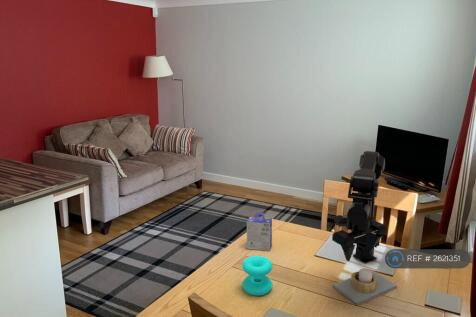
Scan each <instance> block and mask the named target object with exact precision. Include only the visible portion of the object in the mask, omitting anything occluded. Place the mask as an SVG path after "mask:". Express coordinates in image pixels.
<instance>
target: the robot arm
mask: <svg viewBox="0 0 476 317" xmlns="http://www.w3.org/2000/svg"><path fill="white" fill-rule="evenodd" d="M385 159H386V158H385V157H384V156H382V155H381V154H380V152H377V151H373V150H372V151H371V150H370V151H369V150H365V151H363V154H361V155H360V157H359V164H358V166H359V169H357V170H355V171H354V173H353V175H352V176H350V180H349V185H348V186H349V187H348V193H347V198H348V199H352V203H351V204H350V206H349V208H348V211H347V213H346V214H344V215H342V214H338V215H337V214H336V215H334V220H333V222H334V225H335V226H337V227H339V228H341V227H344V228H345V227H346V228H345V229H346V230H349V231H350V232H349V231H348V232H347V231H345V230H344V229H341V230H338V231H335V232H333V233H332V235H331V236H332V238H331V240H332V241H333V242H334V243H336V244H338V245H340V247H341V249H342V251H343V254H344V258H345V260H346V261H347V262H350V261H351V259H352V257H353V258H355V259H357V260H358V261H360V262H362V263H364V264H368V263H371V262H373V261H376V260H377V257H376V256H375V249H376V248H377V247H379V246H380V242H381V241H380V240H381V239H382V238H383V237H384V236H385V235H386V234H387V233H388V231H387V230H388V228H387V225H386V224H383V223H382V222H379V221H377V220H375V219H374V218H375V217H374V214H375V206H376V205H375V203H376V198H377V197H378V190H379V186H380V185H379V182H378V180H379V179H380V177H381V176H382V175H383V171H385V165H386V160H385ZM354 249H355V253H354ZM353 253H354V254H353Z"/></svg>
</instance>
